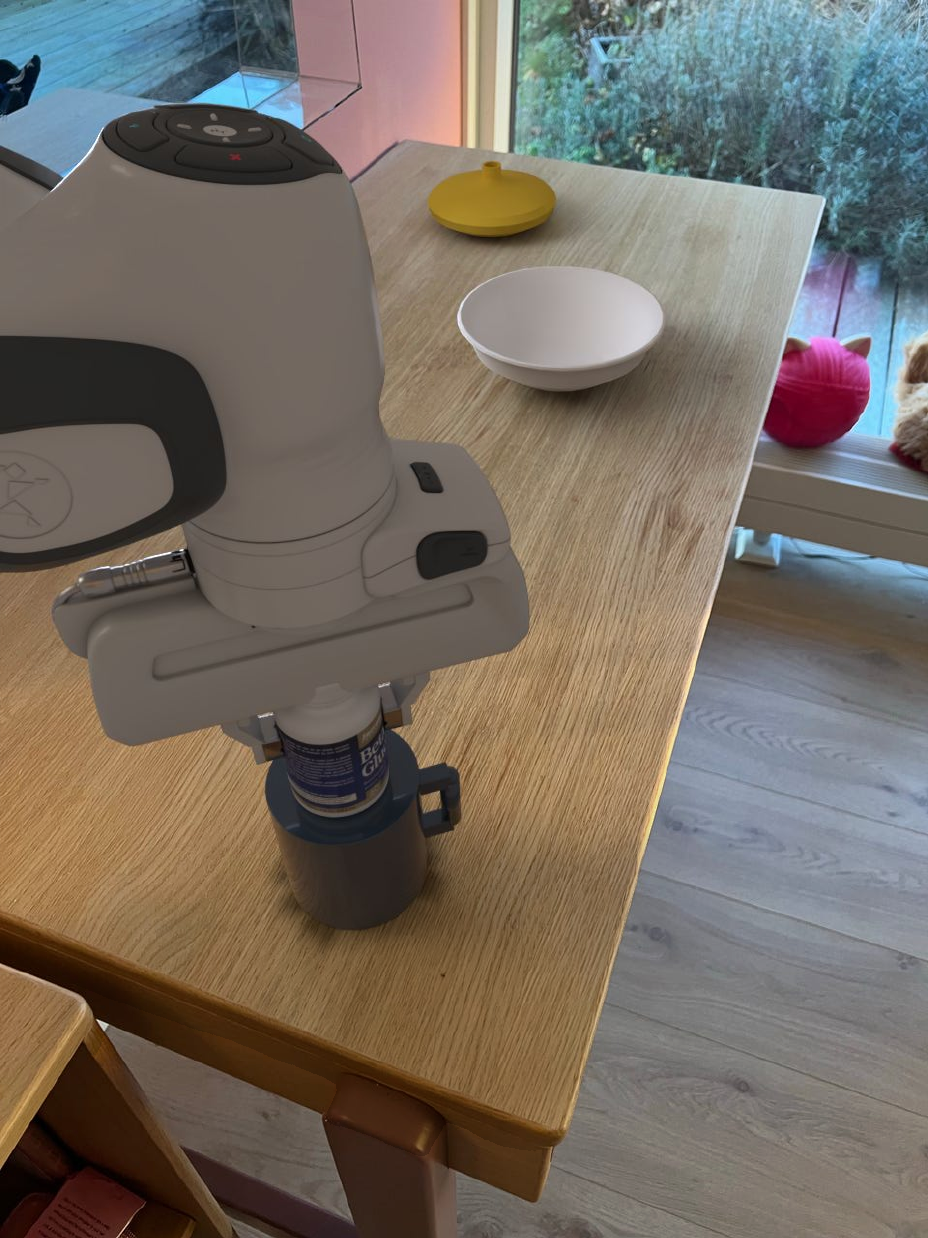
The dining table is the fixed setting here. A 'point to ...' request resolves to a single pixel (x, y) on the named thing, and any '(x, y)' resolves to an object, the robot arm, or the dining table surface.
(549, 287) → the bowl
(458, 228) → the vase
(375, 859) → the mug
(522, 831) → the dining table surface
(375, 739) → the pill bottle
